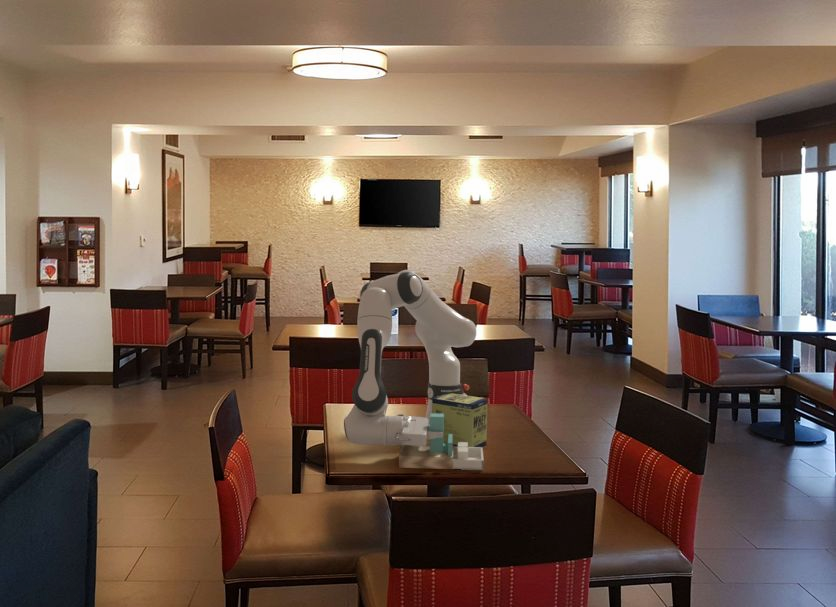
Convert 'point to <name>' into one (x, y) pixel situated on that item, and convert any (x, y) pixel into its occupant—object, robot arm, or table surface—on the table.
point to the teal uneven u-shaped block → (437, 443)
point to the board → (424, 458)
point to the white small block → (462, 453)
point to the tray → (469, 459)
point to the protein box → (463, 418)
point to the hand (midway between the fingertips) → (443, 432)
